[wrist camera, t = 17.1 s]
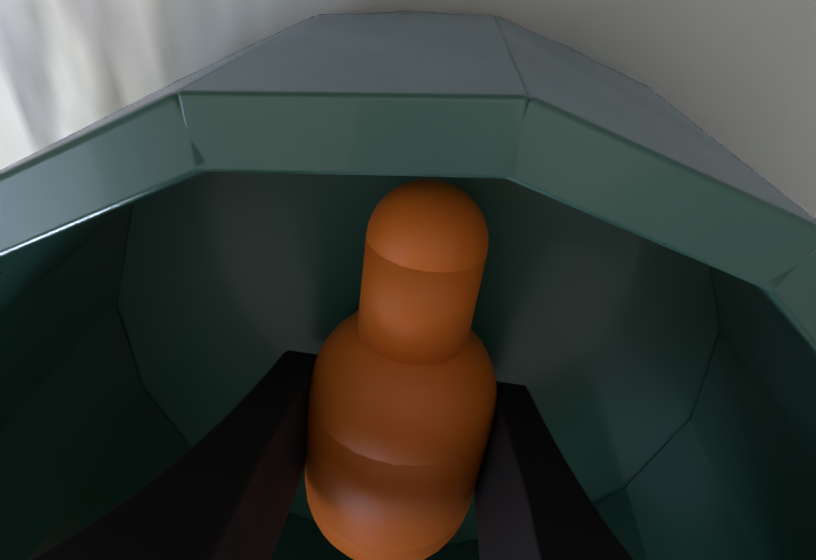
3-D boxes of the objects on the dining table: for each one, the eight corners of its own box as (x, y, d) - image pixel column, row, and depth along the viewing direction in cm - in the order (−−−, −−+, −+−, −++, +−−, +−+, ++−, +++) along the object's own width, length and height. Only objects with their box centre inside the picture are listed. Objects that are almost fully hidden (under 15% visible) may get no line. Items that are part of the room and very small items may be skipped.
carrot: (386, 669, 12) (268, 556, 13) (479, 547, 14) (370, 466, 16) (471, 268, 7) (267, 171, 8) (589, 194, 9) (414, 131, 11)
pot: (533, 591, 18) (563, 853, 13) (76, 443, 16) (-104, 681, 11) (908, 206, 11) (1320, 452, 6) (155, -148, 9) (-272, -268, 4)
